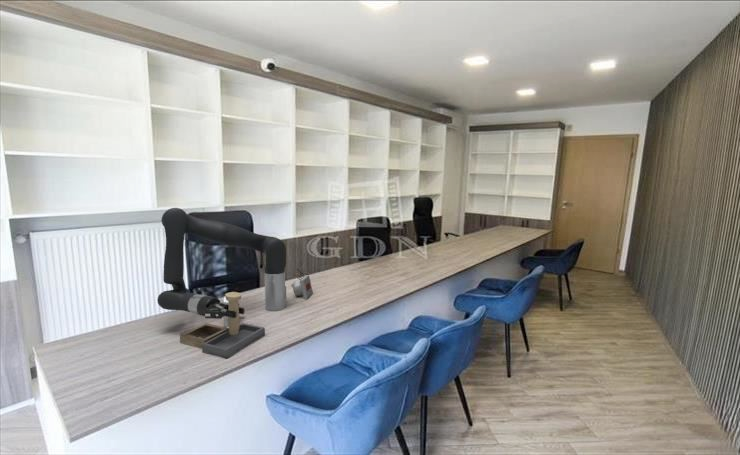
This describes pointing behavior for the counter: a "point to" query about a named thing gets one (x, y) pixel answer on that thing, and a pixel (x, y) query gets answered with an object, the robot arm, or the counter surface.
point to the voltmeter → (302, 286)
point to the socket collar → (193, 334)
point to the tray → (233, 341)
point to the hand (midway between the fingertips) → (239, 313)
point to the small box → (225, 317)
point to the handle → (233, 306)
